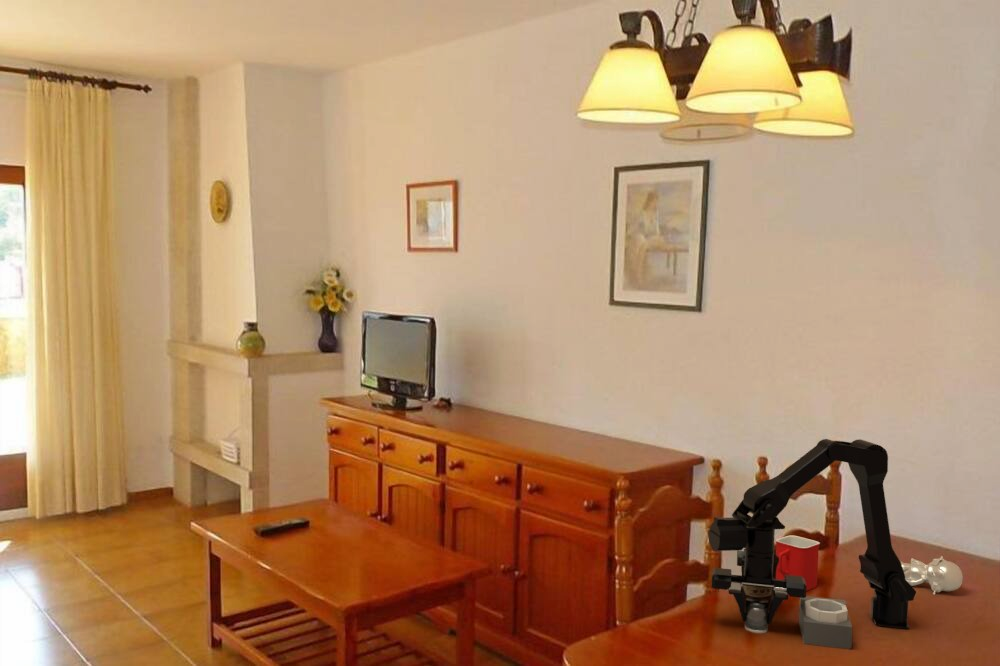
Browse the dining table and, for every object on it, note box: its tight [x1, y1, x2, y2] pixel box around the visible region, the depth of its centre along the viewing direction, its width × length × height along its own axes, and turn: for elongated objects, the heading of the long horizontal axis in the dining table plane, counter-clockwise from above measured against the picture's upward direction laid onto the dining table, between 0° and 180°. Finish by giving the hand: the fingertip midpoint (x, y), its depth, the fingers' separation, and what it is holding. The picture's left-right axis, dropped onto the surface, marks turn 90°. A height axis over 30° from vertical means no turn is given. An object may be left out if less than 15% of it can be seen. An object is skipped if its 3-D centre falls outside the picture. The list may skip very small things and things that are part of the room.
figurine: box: [900, 555, 964, 595], centre depth 213 cm, size 11×7×15 cm
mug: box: [775, 534, 821, 592], centre depth 211 cm, size 12×8×11 cm
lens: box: [744, 597, 769, 634], centre depth 185 cm, size 5×5×6 cm
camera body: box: [798, 595, 853, 650], centre depth 183 cm, size 9×12×6 cm
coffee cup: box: [740, 548, 779, 612], centre depth 197 cm, size 9×8×13 cm
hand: (756, 622), depth 185 cm, fingers closed on lens, 5 cm apart
